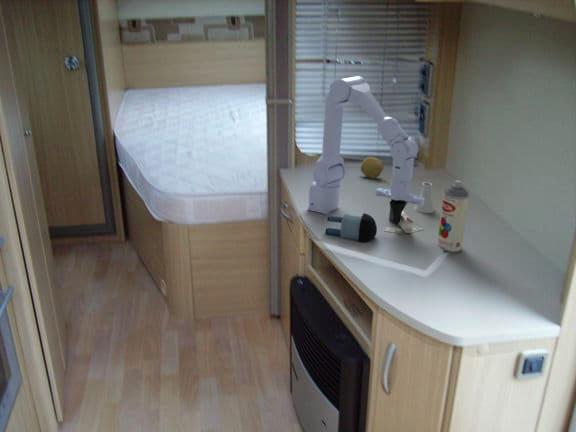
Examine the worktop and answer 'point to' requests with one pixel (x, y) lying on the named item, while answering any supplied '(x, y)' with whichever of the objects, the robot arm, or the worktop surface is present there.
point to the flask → (426, 199)
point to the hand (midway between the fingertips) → (396, 222)
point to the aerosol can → (453, 218)
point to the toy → (354, 227)
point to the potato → (371, 167)
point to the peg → (403, 221)
